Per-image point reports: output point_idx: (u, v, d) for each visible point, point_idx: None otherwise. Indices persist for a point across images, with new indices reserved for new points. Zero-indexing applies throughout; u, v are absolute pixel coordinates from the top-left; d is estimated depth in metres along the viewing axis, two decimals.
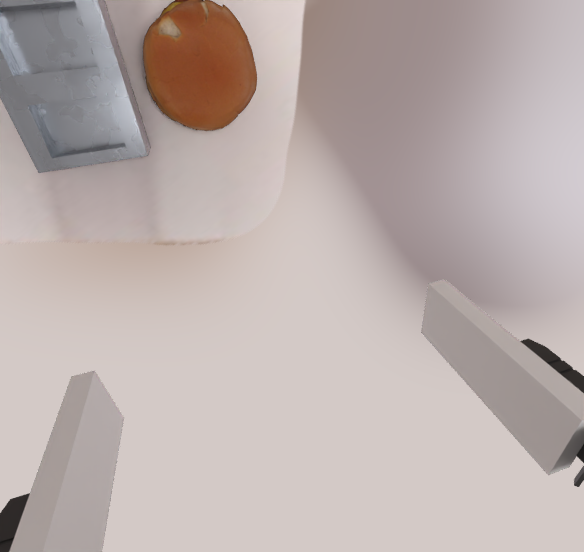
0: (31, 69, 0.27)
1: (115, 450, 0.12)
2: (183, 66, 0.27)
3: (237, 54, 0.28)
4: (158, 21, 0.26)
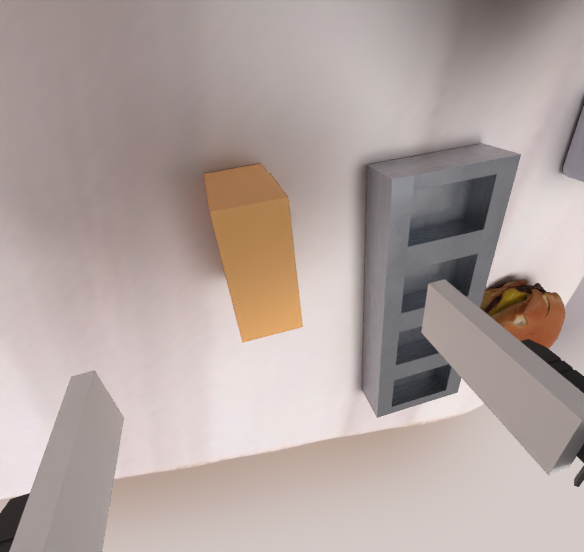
0: None
1: (115, 450, 0.12)
2: None
3: (559, 328, 0.32)
4: (512, 317, 0.31)
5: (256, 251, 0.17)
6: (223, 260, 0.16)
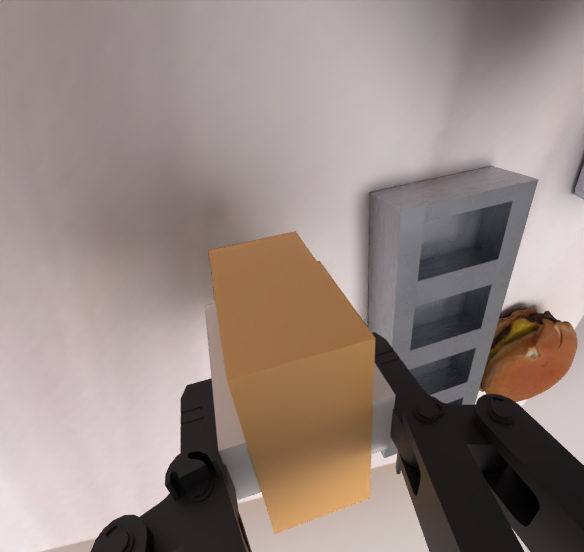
0: None
1: None
2: (529, 375, 0.30)
3: (572, 358, 0.31)
4: (523, 350, 0.29)
5: (308, 423, 0.09)
6: (250, 444, 0.09)
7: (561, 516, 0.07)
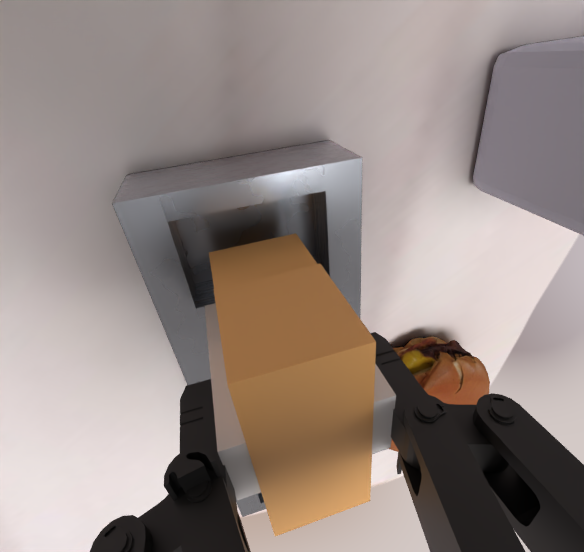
0: None
1: None
2: None
3: None
4: None
5: (309, 426, 0.09)
6: (250, 447, 0.09)
7: (562, 516, 0.07)
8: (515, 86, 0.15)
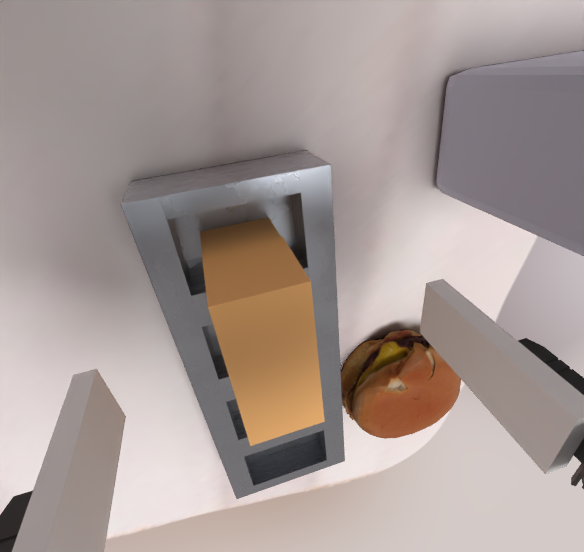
0: None
1: (117, 448, 0.12)
2: (399, 409, 0.25)
3: (454, 389, 0.26)
4: (385, 381, 0.24)
5: (268, 347, 0.13)
6: (226, 360, 0.13)
7: None
8: (463, 103, 0.17)
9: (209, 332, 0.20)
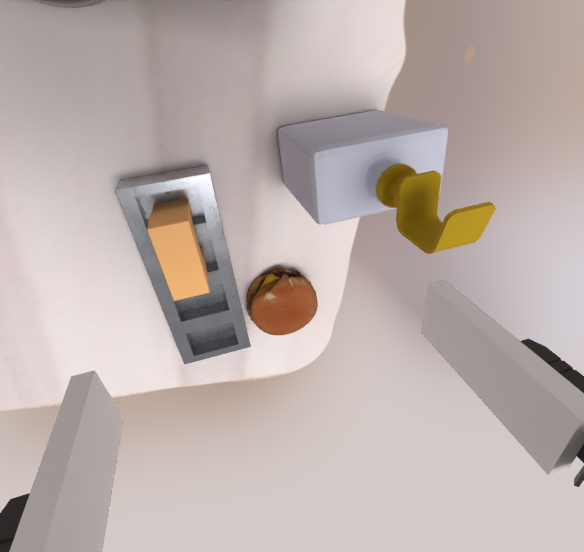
0: (186, 308, 0.43)
1: (115, 450, 0.12)
2: (275, 313, 0.44)
3: (308, 302, 0.45)
4: (264, 294, 0.43)
5: (174, 249, 0.32)
6: (157, 253, 0.31)
7: None
8: (280, 143, 0.36)
9: None
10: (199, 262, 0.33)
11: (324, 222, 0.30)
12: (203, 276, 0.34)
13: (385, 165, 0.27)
